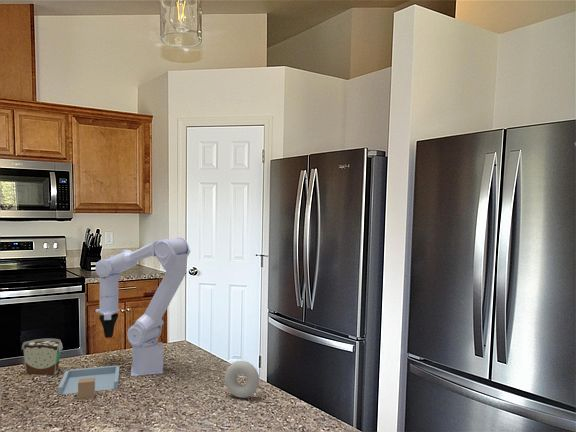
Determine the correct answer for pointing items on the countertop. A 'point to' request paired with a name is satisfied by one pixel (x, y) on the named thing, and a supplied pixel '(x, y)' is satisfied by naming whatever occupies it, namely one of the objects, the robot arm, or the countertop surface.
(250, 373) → the donut
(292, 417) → the countertop surface
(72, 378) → the open box
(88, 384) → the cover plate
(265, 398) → the countertop surface
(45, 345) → the food container
